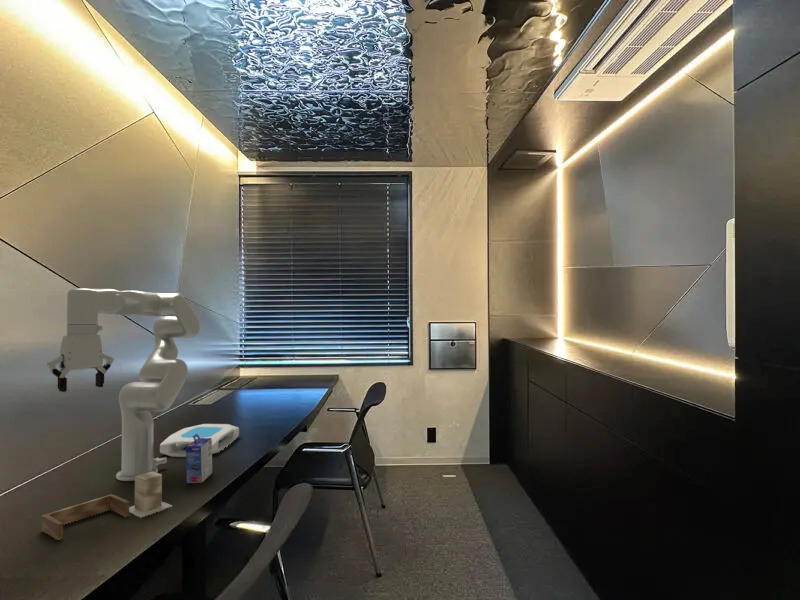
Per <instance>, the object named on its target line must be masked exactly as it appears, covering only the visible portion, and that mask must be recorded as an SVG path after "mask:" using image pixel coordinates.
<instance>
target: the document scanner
mask: <svg viewBox="0 0 800 600" xmlns="http://www.w3.org/2000/svg"><path fill="white" fill-rule="evenodd" d="M196 434H198V436H199V437H200V438H212V455H213V454H218V453H221V452H222V451H224V450H225V449H226V448H228V447H229V446H230V445H231V443H232V442H233V441H234V440H235V441H236V440H237V438H238V437H239V435H240V428H239V427H238V426H236V425H235V426H234V425H232V424H228V423H202V424H198V425H193V426H190V427H189V426H188V427H184V428H182V429H180V430H178V431H176V432H174V433H172V434H170V435H169V436H168V437H166V439H164V440H163V441H162V442H161V443H160V444H159V453H160V454H162V455H166V456H169V457H172V458H174V457H176V458H186V446H188V445H189V444H190V443H192V442H193V441H194V439H193V436H194V435H196ZM197 438H198V437H195V439H197ZM235 441H234V442H235ZM234 442H233V443H234ZM233 443H232V444H233ZM229 444H230V445H229ZM228 445H229V446H228ZM225 447H226V448H225ZM224 448H225V449H224ZM221 450H222V451H221ZM220 451H221V452H220Z"/></svg>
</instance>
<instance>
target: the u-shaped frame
mask: <svg viewBox="0 0 800 600" xmlns="http://www.w3.org/2000/svg"><path fill="white" fill-rule="evenodd" d="M129 507H130V501H129V500H128V499H124V498H122V497H121V496H118V495H115V494H113V493H111V494H107V495H105V496H101V497H99V498H98V497H97V498H94V499H91V500H89V501H85V502H80V503H78V504H75V505H72V506H68V507H65V508H62V509H58V510H56V511H55V510H54V511H52V512H49V513H45V514H42V515H41V532H43V533H44V534H45V535H47V534H48V535H47V536H49V535H50V536H49V537H51V536H52V537H53V539H54V538H55V539H54V540H56V539H57V540H60V541H62V540H61V539H63V540H64V526H66V525H65V524H67V525H69V524H68V523H70V524H72V523H71V522H73V523H75V522H74V521H76V522H79V521H81V519H82V520H85V519H87V517H88V518H90V517H89V516H91V517H93V515H94V516H97V515H100V514H103V513H105V511H106V512H108V510H109V511H110V510H111V512H113V511H114V512H113V513H115V512H116V514H117V513H118V514H117V515H119V514H120V515H119V516H121V515H122V516H121V517H123V516H124V518H128V517H130V513H129ZM102 512H103V513H102ZM99 513H100V514H99ZM96 514H97V515H96ZM127 516H128V517H127ZM84 518H85V519H84ZM78 520H79V521H78ZM63 525H64V526H63ZM52 537H51V538H52ZM57 540H56V541H57Z"/></svg>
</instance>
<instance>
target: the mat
mask: <svg viewBox="0 0 800 600" xmlns="http://www.w3.org/2000/svg"><path fill="white" fill-rule="evenodd" d="M172 507H173V505H172V504H169V503H167V502H164V501H162V506H161V507H158V508H155V509H152V510H150V511H147V512H142V511H140V510H137V509H135V504H134V505H131V506H129V515H132V514H133V516H134V515H135V517H136V518H139V517H140V518H139V519H143V518H145V516H146V517H148V515H149V516H150V515H151V516H152V515H153V513H154V514H157V513H159V512H162V511H165V510H168V509H170V508H172ZM167 508H168V509H167ZM156 512H157V513H156ZM142 517H143V518H142Z"/></svg>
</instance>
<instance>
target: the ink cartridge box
mask: <svg viewBox="0 0 800 600" xmlns="http://www.w3.org/2000/svg"><path fill="white" fill-rule="evenodd" d="M195 437H198V438H197V439H195ZM193 439H194V441H193V442H192V443H190V444H189V445H188V446H186V447H185V450H186V457H185V466H186V467H185V468H186V469H185V471H186V473H185V474H186V484H202V483H204V481H205V480H206V479H208V478H209V477H210V476H211V475H212V474H213V454H212V438H200V437H199V436H198V434H196V435H194V436H193Z"/></svg>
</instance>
